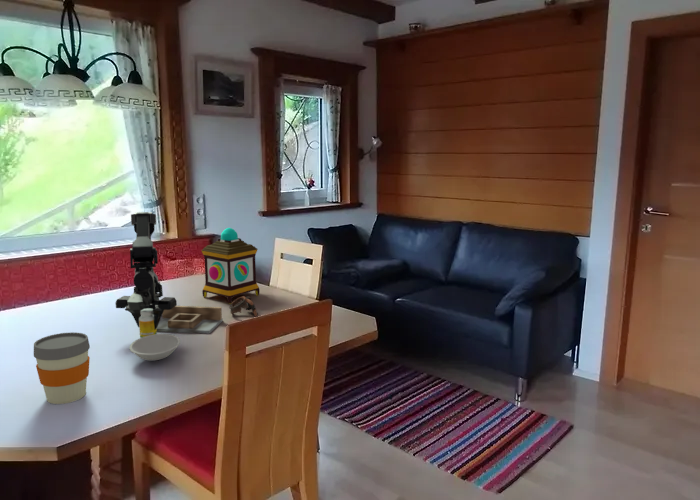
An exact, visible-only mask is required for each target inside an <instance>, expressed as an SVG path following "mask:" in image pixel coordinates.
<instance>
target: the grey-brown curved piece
mask: <svg viewBox="0 0 700 500" xmlns="http://www.w3.org/2000/svg"><path fill="white" fill-rule="evenodd" d="M229 309H230V314H231V315H232V316H233V315H234V314H237V313H242V309H245V310H246V311H252V312H251V313H252V314H253V315H254V317H257V315H258V311H257V308H256V306H255V304H254V302H253V299H252V297H251V296H247V295H246V296H244V295H243V296H240V297H237V298H236V299H234V300H233V301H232V302H231V304H229Z"/></svg>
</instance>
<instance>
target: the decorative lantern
mask: <svg viewBox="0 0 700 500" xmlns="http://www.w3.org/2000/svg"><path fill="white" fill-rule="evenodd" d="M257 252H258V248H257V247H256V246H253V244H249V243H247V242H245V241H244V240H242V238H240V237H238V232H237V231H236V229H233V228H232V227H227V228H225V229H223V231H221V234H220V238H217V240H216V241H214V242H213V243H212V244H209V245H206V246H204V247H203V249H201V253H202V254H203V256H204V257H203V258H204V277H205V282H204V283H205V284H204V286H203V288H202V291H201V292H202V293H201V294H202V297H204V298H207V296H208V293H209V294H213V295H217V296H221V297H226V298H227V302H228V304H229V305H231V303H232V302H233V301H232V300H233V298H234V297H237V296H240V295H243V294H247V293H252V292H254V294H255V295H256V296H257V297H258V296H259V295H260V287H259V285H258V283H257V277H256V275H257V272H256V268H257V267H256V266H257V265H256V254H257Z"/></svg>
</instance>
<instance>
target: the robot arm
mask: <svg viewBox="0 0 700 500" xmlns="http://www.w3.org/2000/svg"><path fill="white" fill-rule="evenodd" d="M130 221H131V222H130V223H131V226H133V231H134V232H135V233H136V234H135V235H136V236H135V237H136V238H135V240H134V241H132V245H131V246H132V248H130V249H129V250H130V252H129V253H130V254H129V255H130V257H129V259H130V269H134V277H133V284H134V287H133V293H132V294H131V295H123V296H121V297H119V298H117V299H116V300H115V308H116V309H124V310H125V311H127V312H129V313H130V314H131V316H132V317H133V319H134V321H135V323H136V326H137V327H138V328H139V317H140V316H142V315H141V312H140V311H141V310H143V309H147V308H150V309H153V315H154V325H155V328H157V327H158V324H159V321H160V319H162V313H163V311H164V310H170V309H172V308H173V307H175V306H178V303H177V301H178V300H177V299H176V298H175V297H173V296H168V297H167V296H164V294H163V293H164V292H163V285H162V284H161V282H160V281H159V277H158V275H157V273H156V272H155V271H154V268H156V267H157V264H158V263H159V261H158V260H159V259H158V258H159V256H158V250H157V249H156V247H154V243H153V240H152V235H153V233H154V232H155V228H156V227H155V225H157V215H156V213H153V212H152V211H138V212H134V213H133V214H130ZM163 296H164V297H163ZM160 298H161V299H160Z"/></svg>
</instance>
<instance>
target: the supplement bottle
mask: <svg viewBox="0 0 700 500" xmlns="http://www.w3.org/2000/svg"><path fill="white" fill-rule="evenodd" d="M140 312H141V316H140V317H139V327H138V328H139V329H138V330H139V339H140V338H142V337H145V336H149V335H155V334H158V332H157V330H156V328H155V325H154V315H153V309H150V308H147V309H143V310H141V311H140Z"/></svg>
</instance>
